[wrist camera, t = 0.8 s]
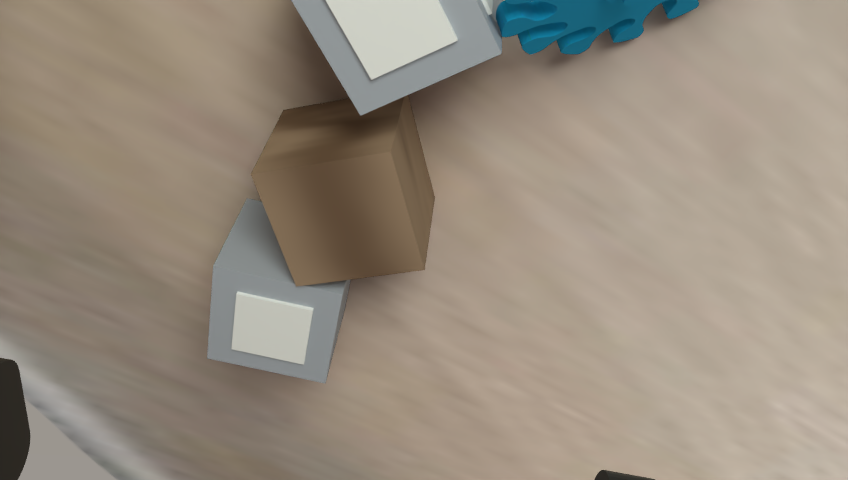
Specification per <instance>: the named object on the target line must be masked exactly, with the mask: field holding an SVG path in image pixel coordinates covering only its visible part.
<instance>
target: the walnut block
mask: <svg viewBox="0 0 848 480" xmlns="http://www.w3.org/2000/svg"><path fill="white" fill-rule="evenodd" d="M251 176H252V178H253V181H254V183H255V186H256V188H257V191H258V193H259V196H260V198H261V201H262V203H263V206H264V208H265V211H266V213H267V215H268V218H269V220H270V223H271V225H272V228H273V230H274V233H275V235H276V238H277V240H278V243H279V245H280V248H281V250H282V253H283V255H284V257H285V260H286V262H287V265H288V267H289V270H290V272H291V275H292V277H293V280H294V282H295V285H296V287H297V286H304V285H312V284H320V283H327V282H335V281H343V280H350V279H358V278H366V277H373V276H381V275H389V274H396V273H404V272H412V271H419V270H425V263H426V256H427V249H428V242H429V235H430V228H431V221H432V213H433V206H434V199H435V196H434V193H433V189H432V185H431V181H430V177H429V173H428V170H427V166H426V162H425V158H424V154H423V150H422V147H421V143H420V139H419V135H418V131H417V127H416V123H415V120H414V116H413V112H412V108H411V104H410V100H409V97H408V95H407V96H404V97H402V98H400V99H397V100H395V101H393V102H391V103H388V104H386V105H384V106H382V107H379V108H377V109H375V110H372V111H370V112H368V113H366V114H363V115H361V116H360V114H359V112H358V111H357V109H356V107H355V106H354V104H353V102H352V101H351V99H350V98H348V99H343V100H337V101H332V102H326V103H320V104H315V105H309V106H303V107H298V108H292V109H287V110H283V112H282V114H281V116H280V118H279V120H278V122H277V124H276V126H275V128H274V130H273V132H272V134H271V136H270V138H269V140H268V142H267V144H266V146H265V148H264V150H263V152H262V154H261V156H260V158H259V159H258V161H257V163H256V165H255V167H254V169H253V171H252V173H251Z"/></svg>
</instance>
